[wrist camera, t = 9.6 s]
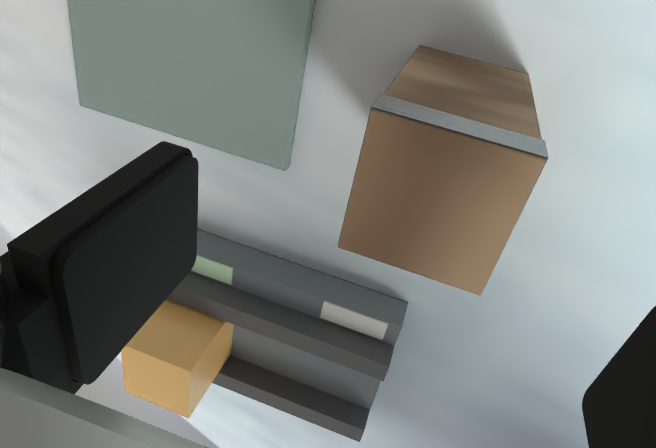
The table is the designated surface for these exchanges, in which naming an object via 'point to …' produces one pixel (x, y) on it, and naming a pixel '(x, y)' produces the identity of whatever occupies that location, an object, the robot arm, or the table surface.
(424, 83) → the brown rectangular block
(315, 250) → the table surface
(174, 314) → the tan orange cube block
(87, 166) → the table surface
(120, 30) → the tool mat
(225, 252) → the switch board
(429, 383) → the table surface
